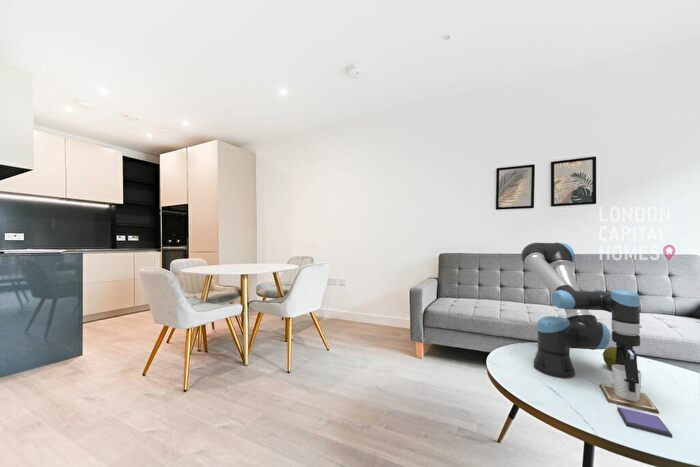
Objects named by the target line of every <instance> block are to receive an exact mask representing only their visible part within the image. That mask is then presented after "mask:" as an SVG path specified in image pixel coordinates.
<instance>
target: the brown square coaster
mask: <svg viewBox="0 0 700 467" xmlns="http://www.w3.org/2000/svg"><path fill="white" fill-rule="evenodd" d="M599 388H600V390H601V392H602V393H603V395H604V397H605V399H606V402H608V403H609V404H614V405H619V406H622V407H627V408H632V409H635V410H640V411H644V412H650V413H652V414H657V415H659V414H660V411H659V409H658V408H657V406H655V404H654V403H653V402H652V401H651V400H650V398H649V396H648V395H647V394H646V393H644V392H641V391H640V398H639V401H637V402H636V401H630V400H626V399H623V398H621V397H619V396H617V395H616V394H615V393H614V386H612V385H607V384H601V383H599Z"/></svg>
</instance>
